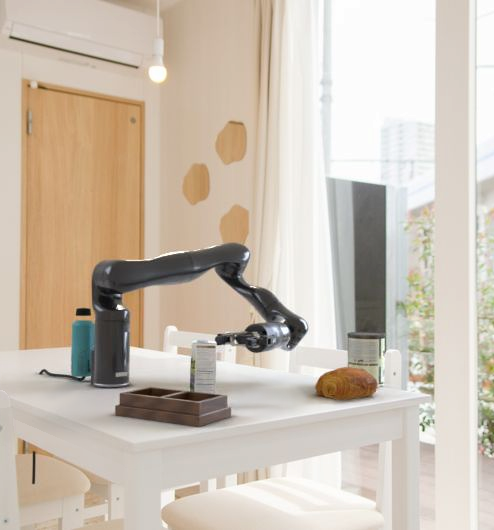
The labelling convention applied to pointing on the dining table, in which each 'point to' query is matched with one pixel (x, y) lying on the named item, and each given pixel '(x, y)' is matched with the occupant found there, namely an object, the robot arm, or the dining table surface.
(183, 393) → the shallow walnut tray
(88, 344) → the beverage bottle
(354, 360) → the coffee can
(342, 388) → the croissant
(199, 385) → the syrup box
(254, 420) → the dining table surface
